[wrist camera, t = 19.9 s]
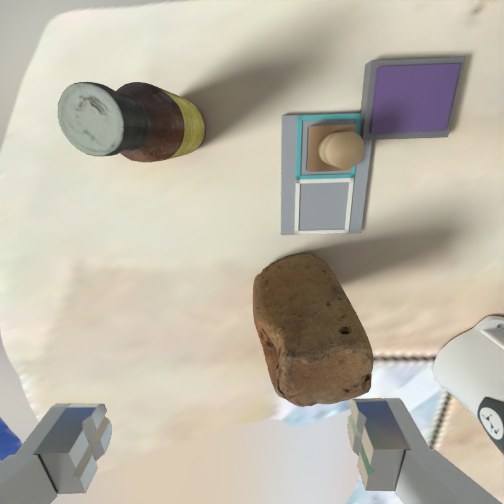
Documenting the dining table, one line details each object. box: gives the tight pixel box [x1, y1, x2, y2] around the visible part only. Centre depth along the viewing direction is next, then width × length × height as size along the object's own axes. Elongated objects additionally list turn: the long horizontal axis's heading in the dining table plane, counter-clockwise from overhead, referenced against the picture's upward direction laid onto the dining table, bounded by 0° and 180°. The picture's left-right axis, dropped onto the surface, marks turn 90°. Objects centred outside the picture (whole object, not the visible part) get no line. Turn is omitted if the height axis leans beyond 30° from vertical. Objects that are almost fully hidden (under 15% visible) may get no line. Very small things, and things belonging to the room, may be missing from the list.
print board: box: [281, 113, 372, 235], centre depth 36 cm, size 11×15×1 cm
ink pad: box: [360, 57, 465, 140], centre depth 32 cm, size 10×8×2 cm
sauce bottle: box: [58, 82, 205, 162], centre depth 25 cm, size 6×6×20 cm
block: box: [253, 254, 373, 407], centre depth 33 cm, size 11×8×20 cm
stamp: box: [306, 124, 365, 172], centre depth 31 cm, size 5×5×8 cm
